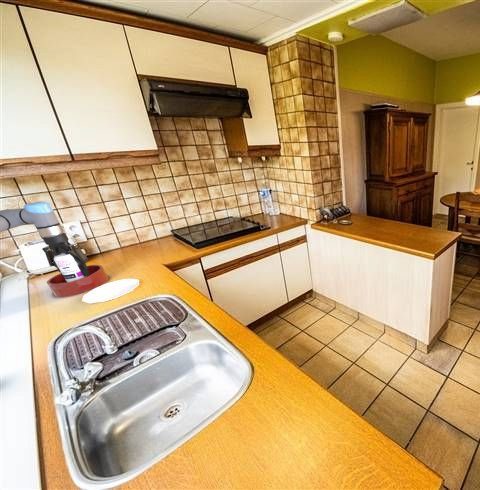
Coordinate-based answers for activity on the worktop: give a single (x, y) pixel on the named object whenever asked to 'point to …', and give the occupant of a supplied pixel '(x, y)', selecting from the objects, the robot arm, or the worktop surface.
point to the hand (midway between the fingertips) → (77, 276)
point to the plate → (110, 291)
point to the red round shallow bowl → (78, 282)
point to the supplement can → (68, 267)
